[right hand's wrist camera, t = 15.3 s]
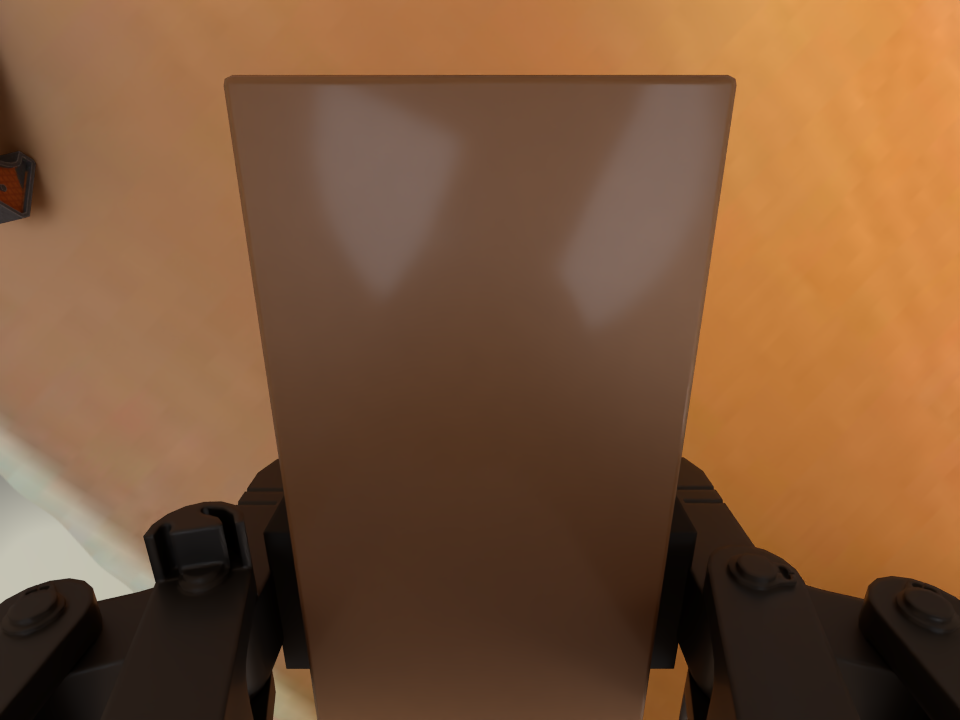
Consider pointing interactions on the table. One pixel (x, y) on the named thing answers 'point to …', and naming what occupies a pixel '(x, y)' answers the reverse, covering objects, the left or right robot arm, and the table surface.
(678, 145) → the bar
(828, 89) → the table surface
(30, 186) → the tool
